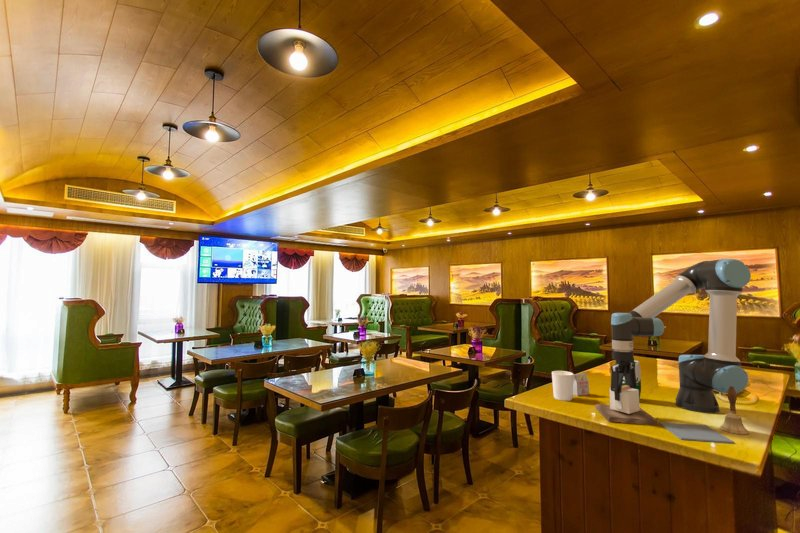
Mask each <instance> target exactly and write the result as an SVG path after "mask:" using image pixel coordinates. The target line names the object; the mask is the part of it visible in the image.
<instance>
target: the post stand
mask: <svg viewBox="0 0 800 533" xmlns="http://www.w3.org/2000/svg"><path fill="white" fill-rule="evenodd" d="M639 409H640V411H637V412H634V413H630V414H628V413H624V412H621V411H617V410H614V409H610V404H601V403H595V410H596V411H597V412H598V413H600V415H601V416H602V417H604V418H605V420H606V421H607V422H608V423H614V422H621V423H620V424H628V423H636V424H635V425H643V424H648V425H647V426H659V421H658V419H656V418H655V417H653V416H652V414H650V413H648V412H647V411H646V410H644V409H643V408H641V407H640V406H639Z"/></svg>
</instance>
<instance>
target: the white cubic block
mask: <svg viewBox="0 0 800 533" xmlns="http://www.w3.org/2000/svg"><path fill="white" fill-rule="evenodd" d="M621 393H622V401H623V409H618V408H615V393H614V391H611V387H609V405H610V409H614V410H617V411H621V412H624V413H628V414H630V413H634V412H637V411H640V409H639V407H640V400H639V390H638V389H633V388H630V386H629V385H624V386H622V388H621Z"/></svg>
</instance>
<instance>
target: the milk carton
mask: <svg viewBox="0 0 800 533" xmlns="http://www.w3.org/2000/svg"><path fill="white" fill-rule="evenodd" d="M630 362H631V363H633V364H635V374H636V383H637V387H635V388H636V389H638V390H639V401H640V399H641V394H642V379H641V378H642V377H641V364H640V361H639V360H635V359H634V360H633V361H630ZM624 385H626V381H625V378H624V377H623V382H622V386H624Z"/></svg>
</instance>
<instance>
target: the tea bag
mask: <svg viewBox="0 0 800 533" xmlns="http://www.w3.org/2000/svg"><path fill="white" fill-rule="evenodd" d="M573 374H574V373H573ZM573 396H576V397H581V396H590V383H589V379H588V376H587V373H578V374H574V379H573Z"/></svg>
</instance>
